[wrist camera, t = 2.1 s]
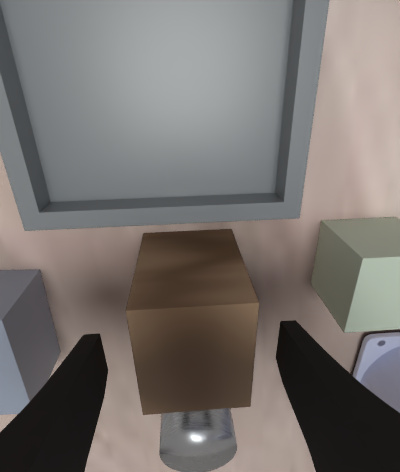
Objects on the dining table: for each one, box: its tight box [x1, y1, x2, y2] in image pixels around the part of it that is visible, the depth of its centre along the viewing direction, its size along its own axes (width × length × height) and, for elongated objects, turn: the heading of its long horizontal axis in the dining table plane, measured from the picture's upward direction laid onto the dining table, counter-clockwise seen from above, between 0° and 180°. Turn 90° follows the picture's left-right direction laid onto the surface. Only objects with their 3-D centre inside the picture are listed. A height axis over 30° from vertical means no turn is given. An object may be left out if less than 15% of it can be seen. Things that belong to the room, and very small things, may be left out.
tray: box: [0, 0, 329, 231], centre depth 11 cm, size 12×12×2 cm
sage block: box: [311, 217, 400, 333], centre depth 15 cm, size 4×4×4 cm
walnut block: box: [126, 229, 259, 415], centre depth 14 cm, size 4×6×6 cm
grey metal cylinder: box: [160, 408, 237, 472], centre depth 18 cm, size 4×4×5 cm
